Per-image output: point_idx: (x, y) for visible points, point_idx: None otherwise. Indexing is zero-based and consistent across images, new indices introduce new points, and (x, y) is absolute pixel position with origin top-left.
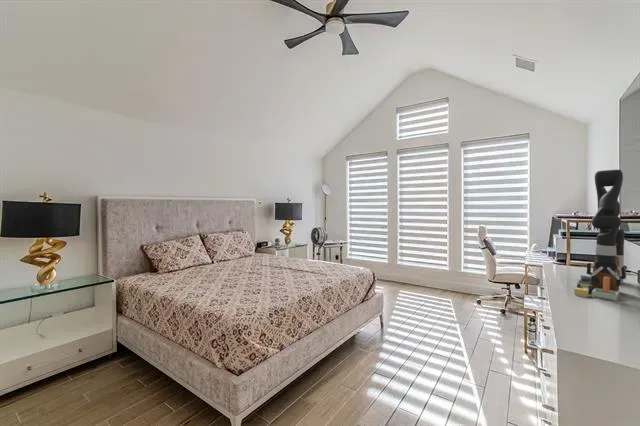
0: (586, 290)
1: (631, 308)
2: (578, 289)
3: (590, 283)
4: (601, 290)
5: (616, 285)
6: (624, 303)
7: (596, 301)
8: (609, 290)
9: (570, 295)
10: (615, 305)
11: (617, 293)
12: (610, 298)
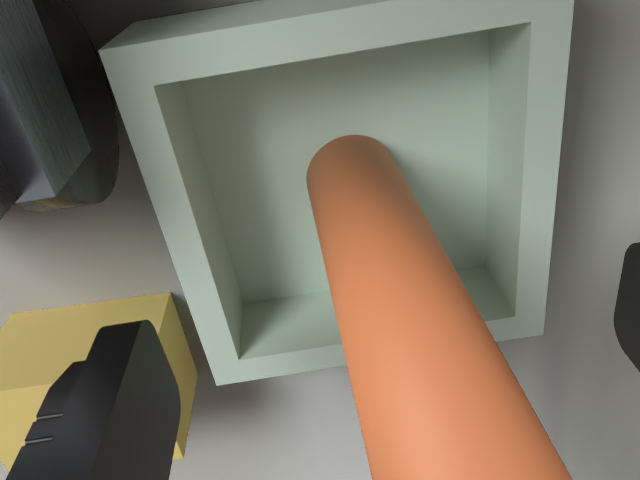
0: None
1: (637, 420)
2: None
3: (2, 210)
4: (244, 62)
5: (635, 357)
6: (586, 290)
7: (340, 452)
8: (393, 30)
9: None
10: None
11: (550, 191)
12: None
